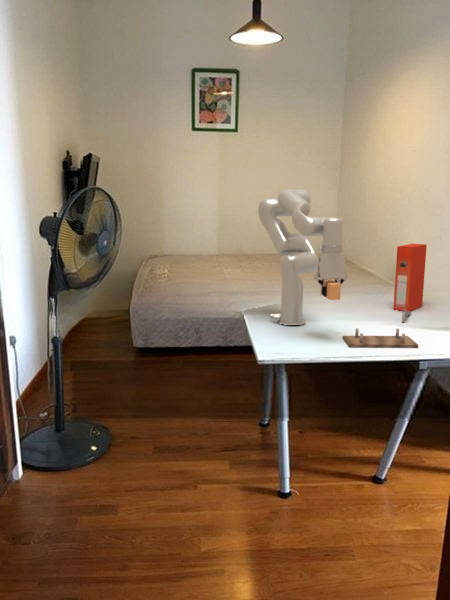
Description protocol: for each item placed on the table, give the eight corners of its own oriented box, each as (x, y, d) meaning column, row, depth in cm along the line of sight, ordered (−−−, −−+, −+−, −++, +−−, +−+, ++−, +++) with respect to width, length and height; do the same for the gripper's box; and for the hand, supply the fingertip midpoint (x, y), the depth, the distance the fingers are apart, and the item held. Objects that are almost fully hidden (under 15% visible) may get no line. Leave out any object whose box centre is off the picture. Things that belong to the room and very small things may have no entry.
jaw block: (330, 299, 194) (330, 284, 193) (320, 294, 206) (321, 279, 204) (340, 299, 194) (340, 284, 193) (330, 293, 206) (330, 279, 205)
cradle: (349, 347, 191) (349, 335, 190) (342, 338, 203) (343, 327, 202) (418, 347, 190) (419, 335, 189) (407, 338, 202) (408, 327, 201)
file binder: (392, 310, 251) (397, 246, 244) (406, 304, 264) (411, 243, 257) (408, 312, 246) (413, 247, 239) (422, 306, 258) (427, 244, 251)
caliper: (403, 323, 226) (405, 310, 225) (401, 323, 227) (402, 309, 226) (411, 314, 244) (412, 301, 243) (409, 313, 244) (410, 301, 243)
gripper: (313, 251, 192) (312, 298, 195) (356, 250, 194) (354, 297, 197) (308, 249, 199) (307, 294, 203) (349, 248, 201) (347, 293, 205)
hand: (330, 295), depth 200 cm, fingers closed on jaw block, 4 cm apart
